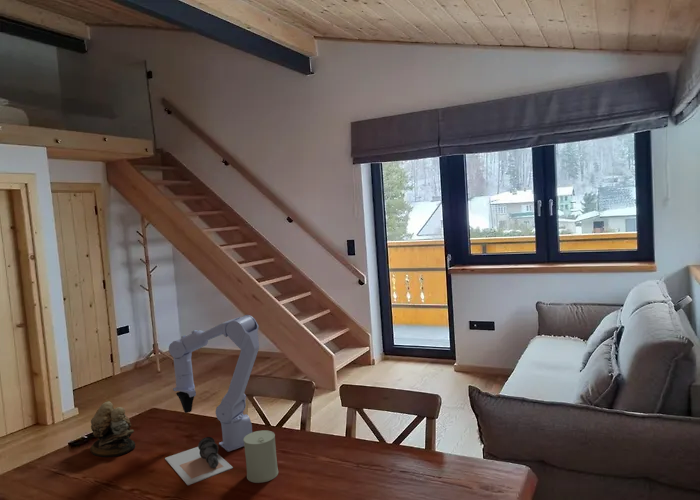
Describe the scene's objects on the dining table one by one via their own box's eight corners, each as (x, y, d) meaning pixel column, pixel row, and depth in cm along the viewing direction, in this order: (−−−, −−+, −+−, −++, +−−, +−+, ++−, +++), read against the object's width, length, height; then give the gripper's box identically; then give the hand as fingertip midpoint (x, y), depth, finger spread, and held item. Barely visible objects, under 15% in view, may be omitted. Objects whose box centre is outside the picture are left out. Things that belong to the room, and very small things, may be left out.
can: (252, 486, 146) (248, 445, 145) (243, 472, 154) (239, 434, 153) (282, 476, 150) (279, 436, 149) (272, 463, 158) (269, 425, 157)
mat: (206, 444, 175) (206, 443, 175) (233, 468, 157) (232, 467, 157) (164, 458, 167) (164, 457, 167) (187, 485, 149) (187, 484, 149)
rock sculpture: (147, 444, 179) (141, 396, 178) (119, 460, 168) (113, 410, 167) (109, 438, 186) (103, 392, 185) (80, 453, 176) (74, 405, 174)
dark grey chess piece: (194, 451, 165) (202, 475, 154) (201, 435, 164) (209, 457, 154) (212, 453, 168) (221, 476, 157) (218, 436, 167) (227, 459, 157)
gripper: (165, 371, 180) (169, 409, 181) (179, 381, 169) (183, 421, 170) (185, 366, 184) (189, 403, 186) (200, 375, 173) (204, 415, 174)
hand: (187, 411), depth 178 cm, fingers closed
